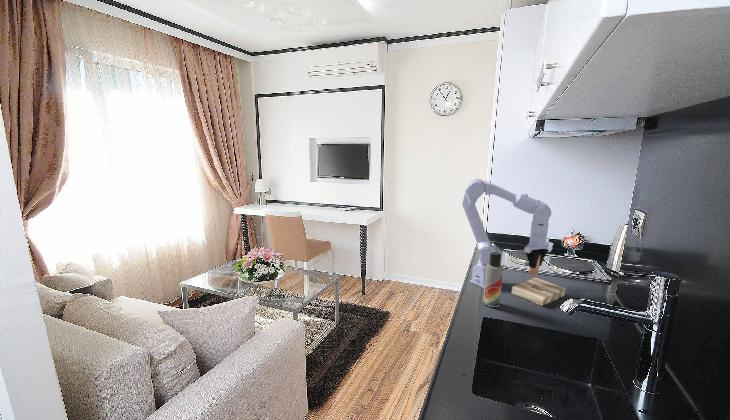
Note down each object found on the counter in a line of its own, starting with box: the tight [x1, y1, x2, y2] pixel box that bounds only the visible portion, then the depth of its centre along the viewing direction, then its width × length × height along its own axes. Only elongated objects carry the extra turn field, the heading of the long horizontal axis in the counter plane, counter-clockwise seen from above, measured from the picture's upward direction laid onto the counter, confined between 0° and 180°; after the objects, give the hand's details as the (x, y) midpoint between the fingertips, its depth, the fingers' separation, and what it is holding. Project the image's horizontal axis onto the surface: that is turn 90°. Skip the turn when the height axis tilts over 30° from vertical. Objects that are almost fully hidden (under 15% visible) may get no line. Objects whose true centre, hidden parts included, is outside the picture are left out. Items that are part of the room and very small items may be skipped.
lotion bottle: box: [482, 251, 504, 306], centre depth 113 cm, size 6×6×20 cm
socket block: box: [511, 277, 567, 307], centre depth 122 cm, size 16×12×3 cm
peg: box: [529, 255, 541, 276], centre depth 124 cm, size 3×3×8 cm
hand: (534, 266), depth 124 cm, fingers closed on peg, 3 cm apart
